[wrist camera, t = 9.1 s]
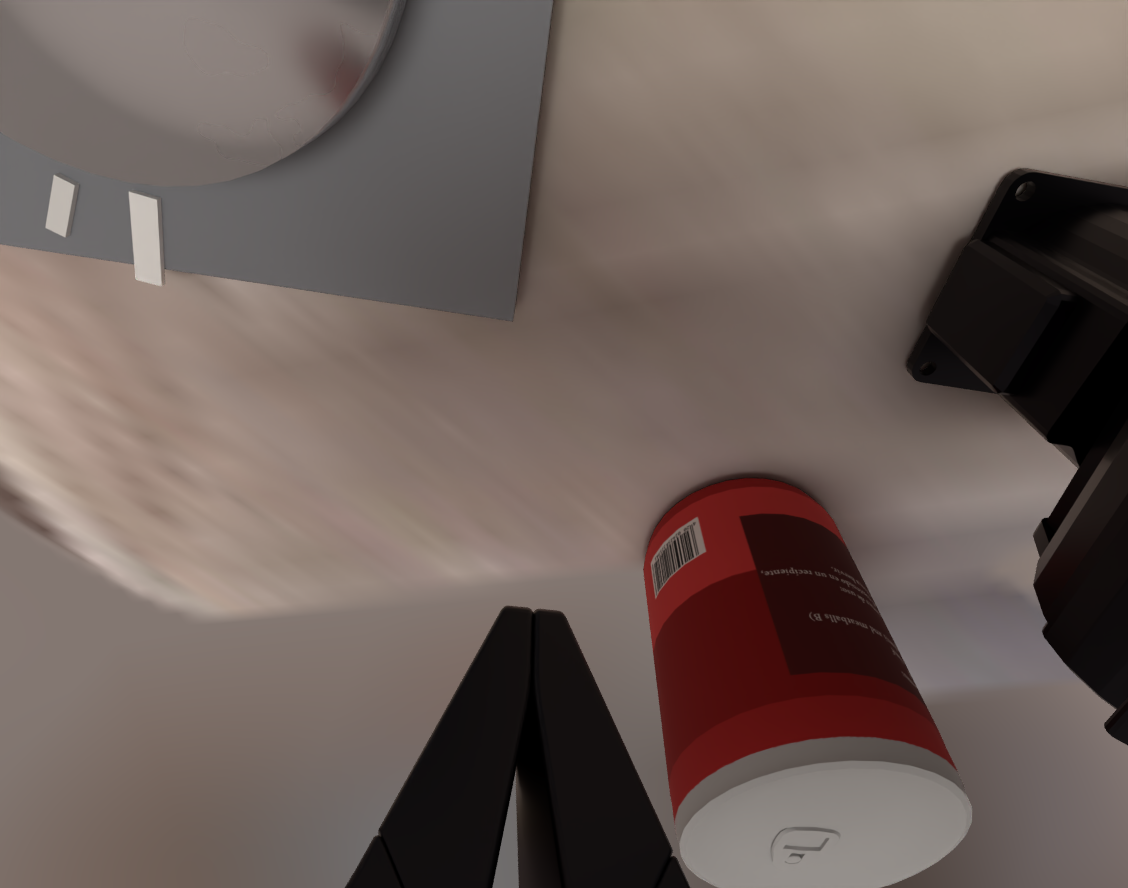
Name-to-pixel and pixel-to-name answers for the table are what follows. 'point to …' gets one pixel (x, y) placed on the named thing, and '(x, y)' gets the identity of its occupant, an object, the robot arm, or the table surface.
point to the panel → (342, 182)
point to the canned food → (788, 702)
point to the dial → (184, 80)
